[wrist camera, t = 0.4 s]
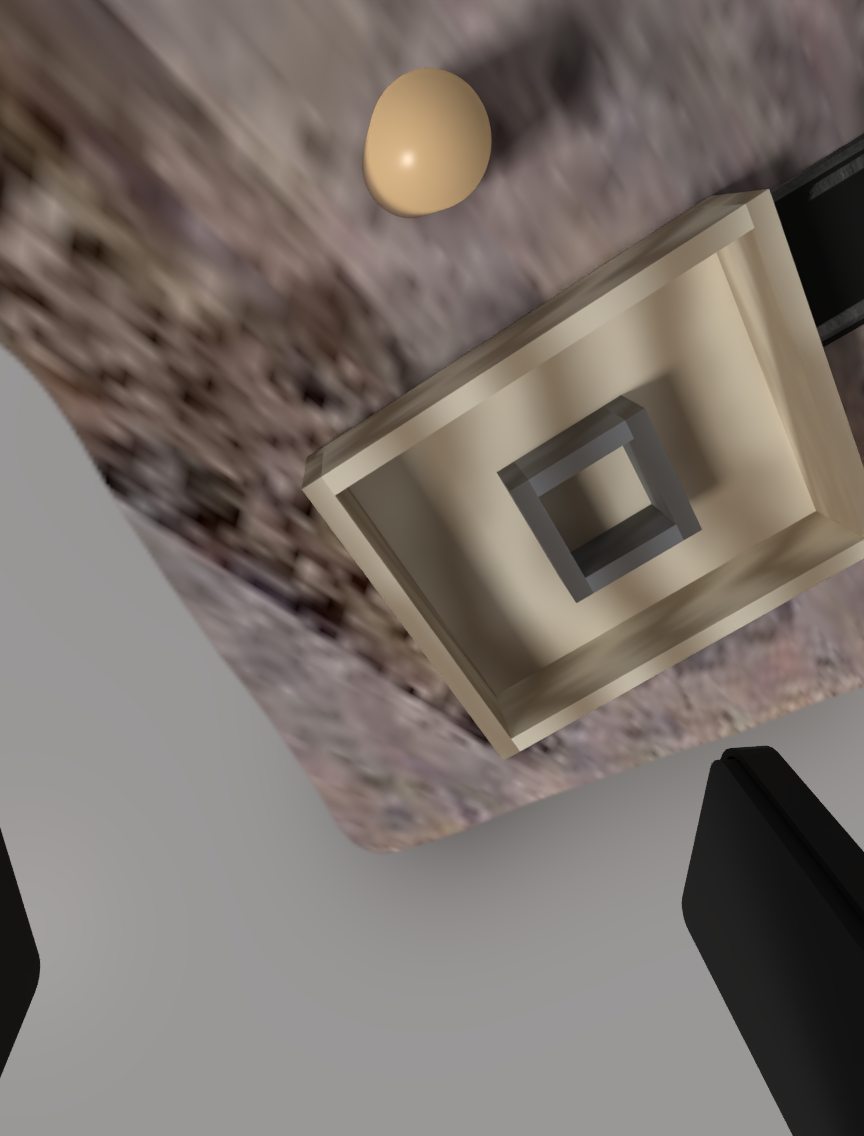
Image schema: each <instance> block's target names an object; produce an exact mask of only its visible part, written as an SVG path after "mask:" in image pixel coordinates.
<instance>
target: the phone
mask: <svg viewBox="0 0 864 1136" xmlns="http://www.w3.org/2000/svg"><path fill="white" fill-rule="evenodd" d="M770 193H771V196H772V199H773V202H774V205H775V208H776V211H777V214H778V216H779V219H780V222H781V225H782V228H783V231H784V234H785V237H786V240H787V243H788V246H789V249H790V252H791V255H792V258H793V261H794V264H795V267H796V270H797V272H798V275H799V278H800V281H801V284H802V287H803V290H804V293H805V296H806V299H807V302H808V305H809V308H810V311H811V314H812V317H813V320H814V323H815V325H816V328H817V331H818V334H819V337H820V340H821V343H822V346H823V347H825V346H826V345H828V344H830V343H832V342H833V341H835V340H837V339H838V338H840V337H842V336H844V335H845V334H847V333H849V332H851V331H852V330H854V329H856V328H858V327H859V326H861V325H863V324H864V134H863V135H861V136H860V137H858V138H856V139H855V140H853V141H852V142H850V143H848V144H847V145H845V146H843V147H842V148H840V149H838V150H837V151H835V152H833V153H832V154H830V155H828V156H827V157H825V158H823V159H822V160H820V161H818V162H817V163H815V164H813V165H812V166H810V167H808V168H807V169H805V170H804V171H802V172H800V173H799V174H797V175H795V176H794V177H792V178H790V179H789V180H787V181H785V182H784V183H782V184H780V185H779V186H777V187H775V188H774V189H772V190H770Z"/></svg>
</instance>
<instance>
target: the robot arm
mask: <svg viewBox="0 0 864 1136" xmlns="http://www.w3.org/2000/svg"><path fill="white" fill-rule="evenodd" d="M682 910H683V916H684V920H685V923H686V926H687V928H688V930H689V932H690V934H691V936H692V938H693V940H694V942H695V944H696V946H697V948H698V950H699V952H700V954H701V956H702V958H703V960H704V962H705V964H706V965H707V968H708V970H709V971H710V974H711V975H712V978H713V979H714V981H715V983H716V985H717V987H718V989H719V991H720V993H721V995H722V997H723V999H724V1001H725V1003H726V1005H727V1007H728V1009H729V1011H730V1013H731V1015H732V1017H733V1019H734V1021H735V1023H736V1025H737V1027H738V1029H739V1031H740V1033H741V1035H742V1037H743V1039H744V1040H745V1042H746V1044H747V1046H748V1048H749V1050H750V1052H751V1054H752V1056H753V1058H754V1060H755V1062H756V1064H757V1066H758V1068H759V1070H760V1072H761V1074H762V1076H763V1078H764V1080H765V1082H766V1084H767V1086H768V1088H769V1090H770V1092H771V1094H772V1096H773V1098H774V1100H775V1101H776V1103H777V1105H778V1107H779V1109H780V1111H781V1113H782V1115H783V1117H784V1119H785V1121H786V1123H787V1125H788V1127H789V1129H790V1131H791V1133H792V1135H793V1136H864V852H863V851H862V849H861V848H860V847H859V846H858V845H857V843H856V842H855V841H854V840H853V839H852V838H851V837H850V835H849V834H848V833H847V832H846V831H845V830H844V828H843V827H842V826H841V825H840V824H839V823H838V821H837V820H836V819H835V818H834V817H833V816H832V815H831V813H830V812H829V811H828V810H827V809H826V807H825V806H824V805H823V804H822V803H821V802H820V801H819V799H818V798H817V797H816V796H815V795H814V794H813V792H812V791H811V790H810V789H809V788H808V787H807V785H806V784H805V783H804V782H803V781H802V780H801V778H799V776H798V775H797V774H796V773H795V771H794V770H793V769H792V768H791V767H790V766H789V765H788V763H787V762H786V761H785V760H784V759H783V758H782V757H781V755H780V754H779V753H778V752H777V751H776V750H775V749H773V748H772V747H769V746H756V747H740V748H730V749H726V750H725V751H724V752H723V754H722V757H721V759H720V760H715V761H714V762H713V763H712V765H711V768H710V772H709V777H708V781H707V786H706V790H705V795H704V799H703V804H702V809H701V813H700V818H699V823H698V827H697V832H696V836H695V842H694V846H693V851H692V855H691V860H690V864H689V869H688V874H687V878H686V883H685V887H684V893H683V897H682ZM39 974H40V959H39V954H38V950H37V947H36V944H35V941H34V937H33V935H32V931H31V928H30V924H29V921H28V918H27V914H26V911H25V908H24V904H23V901H22V898H21V894H20V891H19V888H18V885H17V881H16V878H15V875H14V871H13V868H12V865H11V862H10V858H9V855H8V852H7V849H6V845H5V842H4V839H3V836H2V832H1V829H0V1077H1V1074H2V1072H3V1069H4V1067H5V1065H6V1062H7V1060H8V1057H9V1055H10V1052H11V1050H12V1047H13V1045H14V1043H15V1040H16V1038H17V1035H18V1033H19V1030H20V1028H21V1025H22V1023H23V1020H24V1018H25V1016H26V1013H27V1011H28V1008H29V1006H30V1003H31V1001H32V998H33V996H34V993H35V991H36V988H37V985H38V980H39Z"/></svg>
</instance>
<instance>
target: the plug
mask: <svg viewBox="0 0 864 1136" xmlns="http://www.w3.org/2000/svg"><path fill="white" fill-rule="evenodd" d="M490 152H491V128H490V122H489V119H488V115H487V112H486V110H485V107H484V105H483V103H482V101H481V100H480V98H479V96H478V95H477V94H476V92H475V91H474V90H473V89H472V88H471V86H470V85H469V84H468V83H466V82H465V81H464V80H463V79H461V78H460V77H458V76H456V75H455V74H453V73H450V72H448V71H445V70H441V69H435V68H424V69H418V70H414V71H411V72H409V73H406V74H404V75H402V76H401V77H399V78H398V79H396V80H395V81H394V82H393V83H392V84H390V86H389V87H388V88H387V89H386V90H385V91H384V93H383V94H382V96H381V97H380V99H379V101H378V103H377V104H376V106H375V109H374V112H373V115H372V118H371V122H370V126H369V130H368V134H367V138H366V142H365V146H364V150H363V156H362V170H363V176H364V180H365V183H366V186H367V188H368V190H369V192H370V194H371V195H372V197H373V198H374V200H375V201H376V202H377V203H378V204H379V205H380V206H381V207H382V208H383V209H385V210H386V211H388V212H389V213H391V214H393V215H396V216H399V217H404V218H416V217H421V216H424V215H427V214H430V213H433V212H437V211H440V210H443V209H446V208H449V207H451V206H454V205H456V204H457V203H459V202H461V201H462V200H464V199H465V198H466V197H467V196H469V195H470V193H471V192H472V191H473V190H474V189H475V188H476V187H477V185H478V184H479V182H480V181H481V179H482V177H483V175H484V173H485V171H486V168H487V165H488V162H489V158H490Z"/></svg>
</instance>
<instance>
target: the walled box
mask: <svg viewBox="0 0 864 1136" xmlns="http://www.w3.org/2000/svg"><path fill="white" fill-rule="evenodd" d="M302 490H303V492H304V493H305V494H306V496H307V497H308V498H309V500H310V501H311V502H312V504H313V505H314V506H315V508H316V509H317V510H318V512H319V513H320V514H321V516H322V517H323V518H324V520H325V521H326V522H327V524H328V525H329V526H330V528H331V529H332V531H333V532H334V533H335V535H336V536H337V537H338V539H339V540H340V541H341V543H342V544H343V545H344V547H345V548H346V549H347V551H348V552H349V553H350V555H351V556H352V557H353V559H354V560H355V561H356V563H357V564H358V565H359V567H360V568H361V569H362V571H363V572H364V574H365V575H366V576H367V578H368V579H369V580H370V582H371V583H372V584H373V586H374V587H375V588H376V590H377V591H378V592H379V594H380V595H381V596H382V598H383V599H384V600H385V602H386V603H387V604H388V606H389V607H390V608H391V610H392V611H393V612H394V614H395V615H396V616H397V618H398V619H399V621H400V622H401V623H402V625H403V626H404V627H405V629H406V630H407V631H408V633H409V634H410V635H411V637H412V638H413V639H414V641H415V642H416V643H417V645H418V646H419V647H420V649H421V650H422V651H423V653H424V654H425V655H426V657H427V658H428V659H429V661H430V662H431V664H432V665H433V666H434V668H435V669H436V670H437V672H438V673H439V674H440V676H441V677H442V678H443V680H444V681H445V682H446V684H447V685H448V686H449V688H450V689H451V690H452V692H453V693H454V694H455V696H456V697H457V698H458V700H459V701H460V702H461V704H462V705H463V707H464V708H465V709H466V711H467V712H468V713H469V715H470V716H471V717H472V719H473V720H474V721H475V723H476V724H477V725H478V727H479V728H480V729H481V731H482V732H483V733H484V735H485V736H486V737H487V739H488V740H489V741H490V743H491V744H492V745H493V747H494V748H495V750H496V751H497V752H498V754H499V755H500V756H501V758H502V759H503V760H506V759H507V758H509V757H511V756H513V755H514V754H516V753H518V752H520V751H522V750H523V749H525V748H527V747H529V746H530V745H532V744H534V743H536V742H538V741H539V740H541V739H543V738H545V737H547V736H548V735H550V734H552V733H554V732H555V731H557V730H559V729H561V728H563V727H564V726H566V725H568V724H570V723H571V722H573V721H575V720H577V719H579V718H580V717H582V716H584V715H586V714H587V713H589V712H591V711H593V710H595V709H596V708H598V707H600V706H602V705H603V704H605V703H607V702H609V701H611V700H612V699H614V698H616V697H618V696H619V695H621V694H623V693H625V692H627V691H628V690H630V689H632V688H634V687H636V686H637V685H639V684H641V683H643V682H644V681H646V680H648V679H650V678H652V677H653V676H655V675H657V674H659V673H660V672H662V671H664V670H666V669H668V668H669V667H671V666H673V665H675V664H676V663H678V662H680V661H682V660H684V659H685V658H687V657H689V656H691V655H692V654H694V653H696V652H698V651H700V650H701V649H703V648H705V647H707V646H708V645H710V644H712V643H714V642H716V641H717V640H719V639H721V638H723V637H725V636H726V635H728V634H730V633H732V632H733V631H735V630H737V629H739V628H741V627H742V626H744V625H746V624H748V623H749V622H751V621H753V620H755V619H757V618H758V617H760V616H762V615H764V614H765V613H767V612H769V611H771V610H773V609H774V608H776V607H778V606H780V605H781V604H783V603H785V602H787V601H789V600H790V599H792V598H794V597H796V596H797V595H799V594H801V593H803V592H805V591H806V590H808V589H810V588H812V587H814V586H815V585H817V584H819V583H821V582H822V581H824V580H826V579H828V578H830V577H831V576H833V575H835V574H837V573H838V572H840V571H842V570H844V569H846V568H847V567H849V566H851V565H853V564H854V563H856V562H858V561H860V560H862V559H863V558H864V467H863V464H862V461H861V458H860V455H859V452H858V449H857V446H856V443H855V440H854V437H853V435H852V432H851V429H850V426H849V423H848V420H847V417H846V414H845V411H844V408H843V405H842V402H841V399H840V396H839V393H838V390H837V387H836V384H835V381H834V379H833V376H832V373H831V370H830V367H829V364H828V361H827V358H826V355H825V352H824V349H823V346H822V343H821V340H820V337H819V334H818V331H817V328H816V325H815V323H814V320H813V317H812V314H811V311H810V308H809V305H808V302H807V299H806V296H805V293H804V290H803V287H802V284H801V281H800V278H799V275H798V272H797V270H796V267H795V264H794V261H793V258H792V255H791V252H790V249H789V246H788V243H787V240H786V237H785V234H784V231H783V228H782V225H781V222H780V219H779V216H778V214H777V211H776V208H775V205H774V202H773V199H772V196H771V193H770V190H769V189H763V190H755V191H747V192H739V193H731V194H723V195H715V196H709V197H707V198H706V199H704V200H703V201H701V202H700V203H698V204H697V205H695V206H693V207H692V208H690V209H689V210H687V211H686V212H684V213H683V214H681V215H680V216H678V217H676V218H675V219H673V220H672V221H670V222H669V223H667V224H666V225H664V226H663V227H661V228H660V229H658V230H656V231H655V232H653V233H652V234H650V235H649V236H647V237H646V238H644V239H643V240H641V241H640V242H638V243H636V244H635V245H633V246H632V247H630V248H629V249H627V250H626V251H624V252H623V253H621V254H620V255H618V256H616V257H615V258H613V259H612V260H610V261H609V262H607V263H606V264H604V265H603V266H601V267H600V268H598V269H596V270H595V271H593V272H592V273H590V274H589V275H587V276H586V277H584V278H583V279H581V280H579V281H578V282H576V283H575V284H573V285H572V286H570V287H569V288H567V289H566V290H564V291H563V292H561V293H559V294H558V295H556V296H555V297H553V298H552V299H550V300H549V301H547V302H546V303H544V304H543V305H541V306H539V307H538V308H536V309H535V310H533V311H532V312H530V313H529V314H527V315H526V316H524V317H523V318H521V319H519V320H518V321H516V322H515V323H513V324H512V325H510V326H509V327H507V328H506V329H504V330H503V331H501V332H499V333H498V334H496V335H495V336H493V337H492V338H490V339H489V340H487V341H486V342H484V343H482V344H481V345H479V346H478V347H476V348H475V349H473V350H472V351H470V352H469V353H467V354H466V355H464V356H462V357H461V358H459V359H458V360H456V361H455V362H453V363H452V364H450V365H449V366H447V367H446V368H444V369H442V370H441V371H439V372H438V373H436V374H435V375H433V376H432V377H430V378H429V379H427V380H426V381H424V382H422V383H421V384H419V385H418V386H416V387H415V388H413V389H412V390H410V391H409V392H407V393H406V394H404V395H402V396H401V397H399V398H398V399H396V400H395V401H393V402H392V403H390V404H389V405H387V406H385V407H384V408H382V409H381V410H379V411H378V412H376V413H375V414H373V415H372V416H370V417H369V418H367V419H365V420H364V421H362V422H361V423H359V424H358V425H356V426H355V427H353V428H352V429H350V430H349V431H347V432H345V433H344V434H342V435H341V436H339V437H338V438H336V439H335V440H333V441H332V442H330V443H329V444H327V445H325V446H324V447H322V448H321V449H319V450H318V451H316V452H315V453H313V454H312V455H310V456H309V457H307V460H306V466H305V473H304V479H303V485H302Z"/></svg>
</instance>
